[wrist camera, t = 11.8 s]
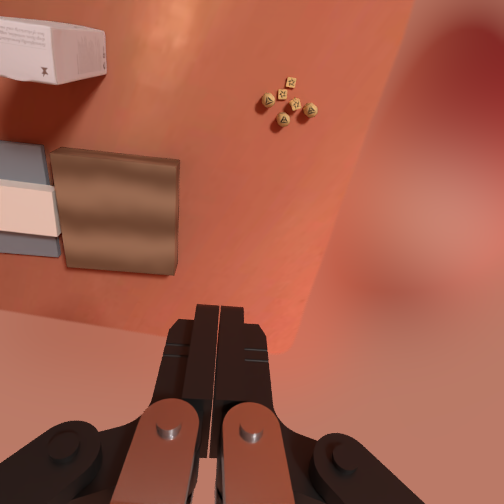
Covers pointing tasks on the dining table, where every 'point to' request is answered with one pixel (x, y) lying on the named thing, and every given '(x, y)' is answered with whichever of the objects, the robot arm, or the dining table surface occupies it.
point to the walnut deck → (117, 210)
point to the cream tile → (29, 208)
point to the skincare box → (50, 51)
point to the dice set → (282, 117)
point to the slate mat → (31, 171)
